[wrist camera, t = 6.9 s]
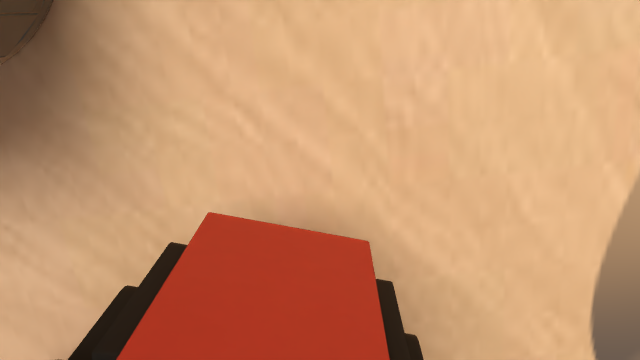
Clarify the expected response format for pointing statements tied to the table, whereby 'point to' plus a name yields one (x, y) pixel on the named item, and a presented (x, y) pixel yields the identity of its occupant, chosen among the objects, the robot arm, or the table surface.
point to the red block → (264, 298)
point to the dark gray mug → (19, 24)
